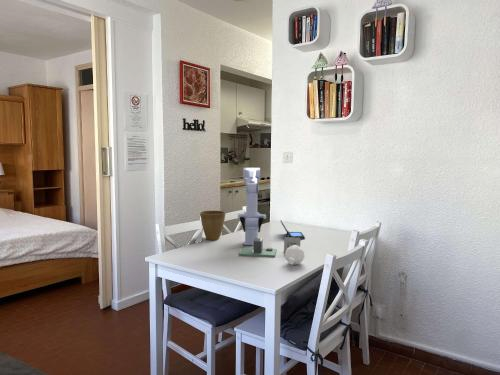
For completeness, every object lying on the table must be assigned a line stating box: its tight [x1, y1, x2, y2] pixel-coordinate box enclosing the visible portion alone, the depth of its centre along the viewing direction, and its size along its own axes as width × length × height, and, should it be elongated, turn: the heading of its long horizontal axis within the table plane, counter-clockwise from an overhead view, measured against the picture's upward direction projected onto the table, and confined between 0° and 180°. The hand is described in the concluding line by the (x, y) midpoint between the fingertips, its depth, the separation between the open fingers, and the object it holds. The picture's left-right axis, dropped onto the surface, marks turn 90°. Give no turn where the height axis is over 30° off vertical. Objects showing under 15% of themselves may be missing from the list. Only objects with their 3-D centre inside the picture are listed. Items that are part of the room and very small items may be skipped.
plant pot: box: [199, 210, 226, 241], centre depth 226 cm, size 15×15×16 cm
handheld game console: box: [280, 219, 306, 240], centre depth 233 cm, size 16×13×9 cm
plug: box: [253, 237, 264, 253], centre depth 195 cm, size 6×4×6 cm, turn 172°
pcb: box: [238, 247, 277, 258], centre depth 196 cm, size 12×18×4 cm, turn 82°
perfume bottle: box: [284, 245, 305, 266], centre depth 176 cm, size 9×9×12 cm
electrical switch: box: [283, 236, 302, 254], centre depth 196 cm, size 8×5×8 cm, turn 78°
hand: (251, 231), depth 200 cm, fingers open, 7 cm apart
